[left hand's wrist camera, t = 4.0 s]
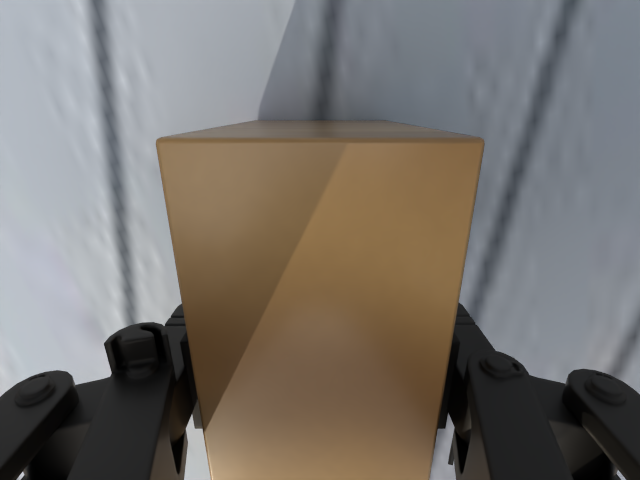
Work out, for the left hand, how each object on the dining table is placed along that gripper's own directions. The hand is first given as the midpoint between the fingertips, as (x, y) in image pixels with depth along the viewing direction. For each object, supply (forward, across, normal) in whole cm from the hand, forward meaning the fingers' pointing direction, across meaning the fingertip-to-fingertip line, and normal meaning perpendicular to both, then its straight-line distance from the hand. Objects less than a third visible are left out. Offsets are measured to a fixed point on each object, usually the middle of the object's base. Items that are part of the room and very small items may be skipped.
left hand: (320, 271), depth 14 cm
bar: (+1, 0, -33) cm, 33 cm away
